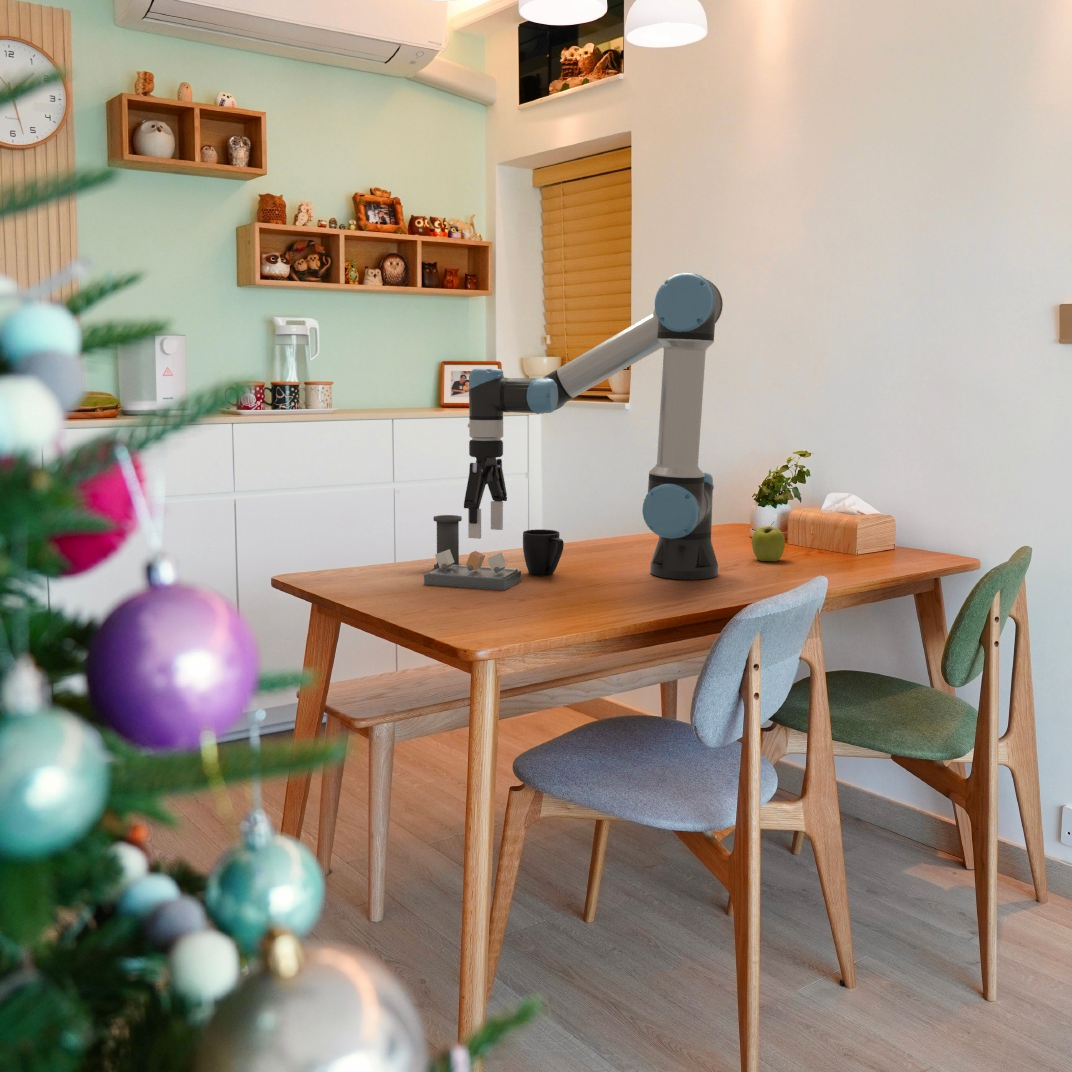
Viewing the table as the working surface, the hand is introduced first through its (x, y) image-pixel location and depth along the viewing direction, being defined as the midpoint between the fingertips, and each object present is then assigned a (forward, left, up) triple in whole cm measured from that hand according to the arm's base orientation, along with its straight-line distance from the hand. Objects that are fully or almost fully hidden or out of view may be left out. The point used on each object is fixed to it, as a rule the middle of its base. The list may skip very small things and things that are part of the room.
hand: (486, 533), depth 239 cm
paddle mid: (-2, +12, -5) cm, 13 cm away
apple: (-59, -37, -9) cm, 70 cm away
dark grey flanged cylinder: (+10, -1, -9) cm, 13 cm away
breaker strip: (-2, +12, -9) cm, 15 cm away
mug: (-14, -1, -9) cm, 16 cm away
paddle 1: (+4, +12, -5) cm, 14 cm away
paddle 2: (-8, +12, -5) cm, 15 cm away
